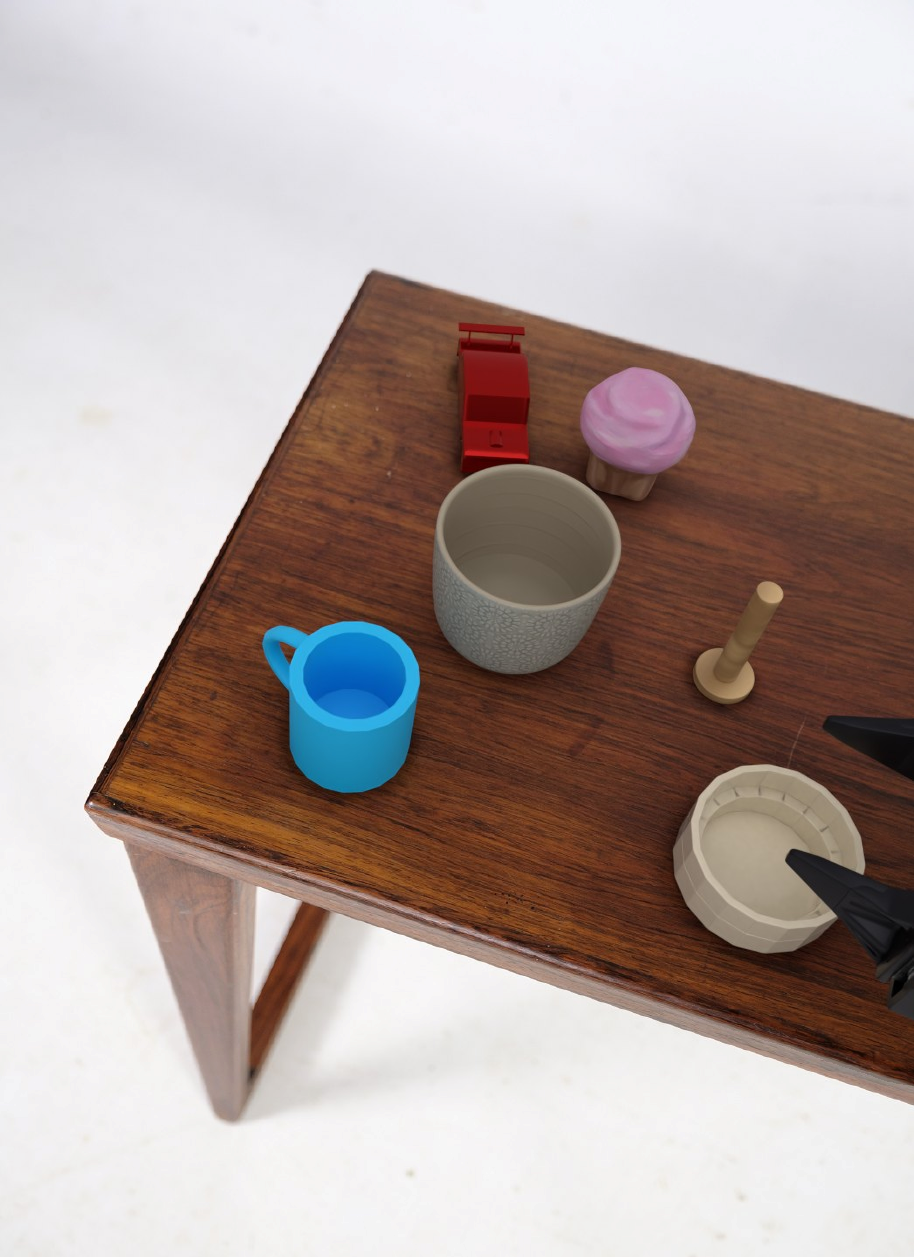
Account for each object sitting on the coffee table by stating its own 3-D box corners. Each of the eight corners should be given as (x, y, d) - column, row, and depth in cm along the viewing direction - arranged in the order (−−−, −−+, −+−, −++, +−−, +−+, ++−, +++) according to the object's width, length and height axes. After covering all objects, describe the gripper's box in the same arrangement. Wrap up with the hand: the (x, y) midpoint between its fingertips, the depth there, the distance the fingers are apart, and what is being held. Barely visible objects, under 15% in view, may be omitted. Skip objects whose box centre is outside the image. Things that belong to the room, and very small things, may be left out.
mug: (434, 737, 82) (446, 673, 75) (352, 816, 78) (358, 756, 71) (307, 635, 85) (309, 566, 79) (223, 706, 81) (217, 639, 75)
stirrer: (757, 667, 88) (809, 580, 80) (743, 713, 86) (794, 628, 77) (701, 645, 89) (746, 556, 80) (685, 690, 86) (730, 603, 78)
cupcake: (556, 503, 95) (581, 414, 87) (575, 428, 100) (600, 337, 92) (665, 531, 95) (700, 444, 87) (678, 454, 100) (712, 365, 92)
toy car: (453, 357, 103) (459, 313, 99) (516, 362, 104) (525, 318, 100) (457, 480, 95) (464, 437, 91) (526, 483, 96) (536, 441, 92)
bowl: (849, 837, 81) (879, 804, 77) (814, 985, 75) (844, 958, 71) (697, 773, 83) (718, 738, 79) (649, 913, 76) (670, 883, 72)
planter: (621, 629, 89) (658, 537, 80) (514, 730, 83) (541, 643, 74) (497, 533, 93) (519, 435, 84) (386, 623, 87) (397, 528, 78)
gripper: (1186, 685, 62) (894, 576, 65) (1170, 1008, 51) (820, 863, 54) (1076, 788, 71) (823, 689, 74) (1042, 1081, 60) (748, 954, 63)
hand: (807, 785), depth 66 cm, fingers open, 9 cm apart
